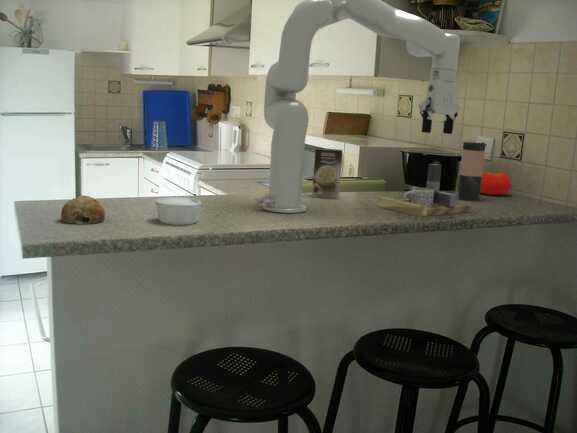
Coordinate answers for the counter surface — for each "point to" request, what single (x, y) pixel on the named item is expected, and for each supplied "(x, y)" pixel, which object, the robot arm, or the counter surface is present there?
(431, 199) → the mug
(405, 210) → the wooden tray
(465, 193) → the travel mug
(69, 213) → the bread roll
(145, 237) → the counter surface
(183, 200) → the ramekin
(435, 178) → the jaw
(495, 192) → the tomato
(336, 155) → the coffee box
